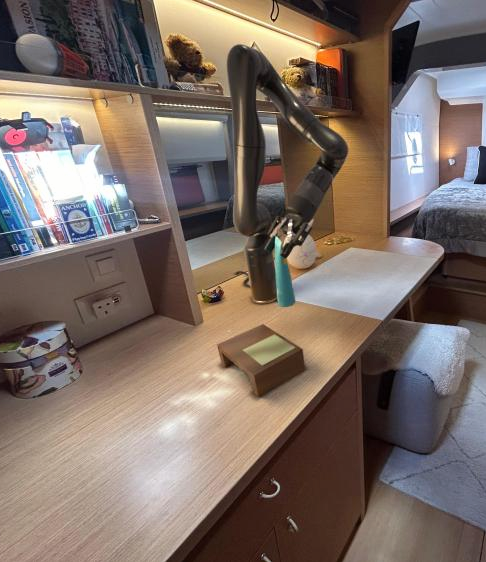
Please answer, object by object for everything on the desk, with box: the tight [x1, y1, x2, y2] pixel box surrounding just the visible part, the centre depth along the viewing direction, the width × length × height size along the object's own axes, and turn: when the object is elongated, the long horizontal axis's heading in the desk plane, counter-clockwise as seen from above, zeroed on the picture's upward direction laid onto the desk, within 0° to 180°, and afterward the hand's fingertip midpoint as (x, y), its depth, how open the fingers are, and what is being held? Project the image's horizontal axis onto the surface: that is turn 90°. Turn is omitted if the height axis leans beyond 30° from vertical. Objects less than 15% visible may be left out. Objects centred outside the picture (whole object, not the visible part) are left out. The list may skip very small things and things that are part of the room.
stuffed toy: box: [282, 218, 323, 270], centre depth 147 cm, size 19×14×25 cm
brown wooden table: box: [216, 323, 306, 398], centre depth 84 cm, size 18×13×6 cm
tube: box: [274, 235, 296, 308], centre depth 93 cm, size 7×5×19 cm, turn 30°
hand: (275, 253), depth 90 cm, fingers closed on tube, 6 cm apart
